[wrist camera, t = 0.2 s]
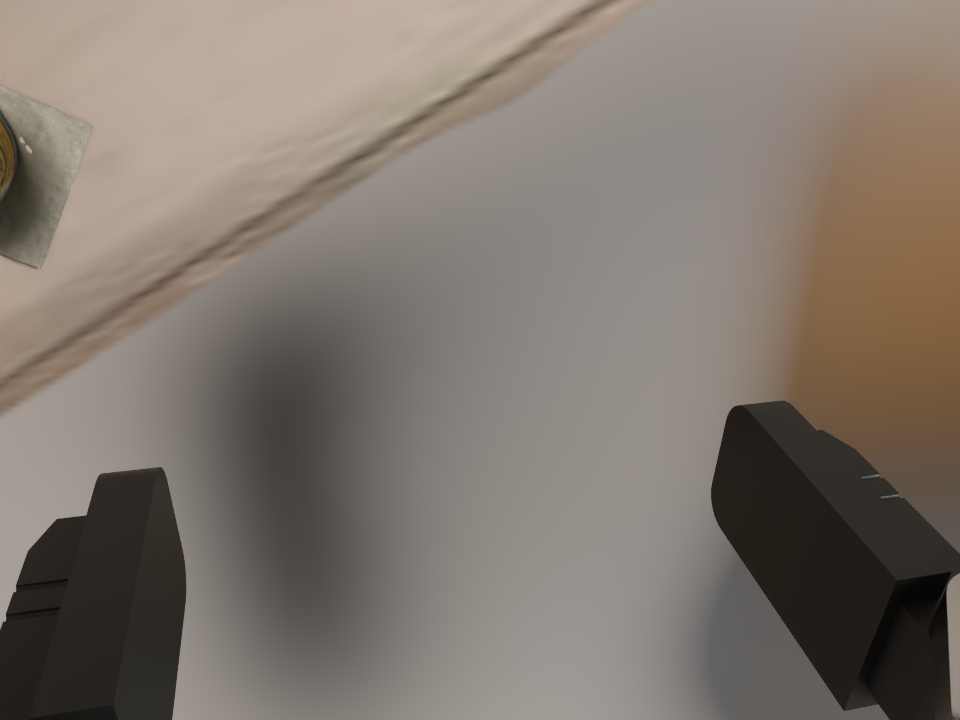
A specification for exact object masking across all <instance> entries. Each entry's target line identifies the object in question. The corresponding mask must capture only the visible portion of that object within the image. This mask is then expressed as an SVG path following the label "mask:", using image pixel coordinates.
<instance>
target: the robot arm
mask: <svg viewBox="0 0 960 720" xmlns="http://www.w3.org/2000/svg"><path fill="white" fill-rule="evenodd" d="M711 500H712V507H713V511H714V515H715V518H716V520H717V523H718V525H719V527H720V528H721V530H722V531H723V533H724V534H725V536H726V537H727V539H728V540H729V542H730V543H731V544H732V546H733V548H734V549H735V551H736V552H737V553H738V555H739V556H740V558H741V560H742V561H743V562H744V564H745V565H746V567H747V568H748V570H749V571H750V573H751V574H752V576H753V577H754V579H755V580H756V582H757V583H758V585H759V586H760V587H761V589H762V591H763V592H764V594H765V595H766V596H767V598H768V599H769V601H770V602H771V604H772V605H773V607H774V608H775V610H776V611H777V613H778V614H779V616H780V617H781V619H782V620H783V622H784V623H785V624H786V626H787V627H788V629H789V630H790V632H791V633H792V635H793V636H794V638H795V639H796V641H797V642H798V644H799V645H800V647H801V648H802V650H803V651H804V653H805V654H806V656H807V657H808V659H809V660H810V661H811V663H812V665H813V666H814V667H815V669H816V670H817V672H818V673H819V675H820V676H821V678H822V679H823V681H824V682H825V684H826V685H827V687H828V688H829V690H830V691H831V692H832V694H833V696H834V697H835V698H836V700H837V701H838V703H839V704H840V706H841V707H842V709H843V710H844V711H846V710H851V709H856V708H861V707H866V706H872V705H877V704H879V705H880V707H881V708H882V710H883V711H884V712H885V714H886V715H887V717H888V718H887V720H960V554H959V553H958V552H957V551H956V550H955V549H954V548H953V547H952V546H951V545H950V544H949V543H948V542H947V541H946V540H945V539H944V538H943V537H942V536H941V535H940V534H939V533H938V532H937V531H936V530H935V529H934V528H933V527H932V526H931V525H930V524H929V523H928V522H927V521H926V520H925V519H924V518H923V517H922V516H921V515H920V514H919V513H918V512H917V511H916V510H915V509H914V508H913V507H912V506H911V505H910V504H909V503H908V502H907V501H906V500H905V499H904V498H900V497H899V493H898V492H897V491H896V490H895V489H894V488H893V487H892V486H891V485H890V484H889V483H888V482H887V481H886V480H885V479H884V478H880V477H879V473H878V472H877V471H876V470H875V469H874V468H873V467H872V465H871V464H870V463H869V462H867V460H866V459H864V457H863V456H862V455H860V453H859V452H857V451H856V449H854V448H852V447H851V446H849V445H847V444H845V443H844V442H842V441H840V440H839V439H837V438H835V437H833V436H831V435H830V434H828V433H827V432H825V431H823V430H818V431H816V430H815V429H814V428H813V426H812V425H811V424H810V423H809V422H808V421H807V420H806V419H805V418H804V417H803V416H802V415H801V414H800V413H799V412H798V411H797V410H796V409H795V408H794V407H793V406H792V405H791V404H790V403H788V402H785V401H775V402H766V403H757V404H748V405H739V406H735V407H733V408H732V409H731V411H730V412H729V414H728V416H727V419H726V424H725V428H724V433H723V438H722V442H721V446H720V451H719V455H718V460H717V464H716V468H715V473H714V478H713V482H712V488H711ZM185 602H186V572H185V561H184V555H183V550H182V545H181V541H180V536H179V531H178V527H177V523H176V518H175V514H174V509H173V505H172V500H171V495H170V491H169V486H168V482H167V478H166V475H165V472H164V470H163V469H162V468H161V467H158V468H149V469H140V470H130V471H121V472H112V473H103V474H100V475H99V476H98V478H97V481H96V484H95V487H94V491H93V495H92V498H91V501H90V505H89V508H88V512H87V516H79V517H71V518H63V519H57V520H56V521H55V522H54V523H53V524H52V525H51V526H50V527H49V528H48V529H47V531H46V532H45V533H44V534H43V535H42V536H41V537H40V538H39V539H38V541H37V542H36V543H35V544H34V545H33V546H32V547H31V549H29V551H28V553H27V556H26V559H25V562H24V564H23V568H22V570H21V573H20V576H19V579H18V581H17V584H16V592H14V593H13V595H12V598H11V601H10V604H9V607H8V610H7V613H6V622H3V624H2V627H1V629H0V720H172V716H173V707H174V698H175V690H176V680H177V671H178V664H179V655H180V646H181V637H182V629H183V620H184V611H185Z"/></svg>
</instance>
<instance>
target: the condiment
mask: <svg viewBox="0 0 960 720" xmlns="http://www.w3.org/2000/svg"><path fill="white" fill-rule="evenodd" d="M92 128H93V125H90V124H88V123H86V122H84V121H81V120H79V119H76V118H74V117H71V116H69V115H67V114H65V113H63V112H61V111H59V110H56V109H54V108H51V107H49V106H46V105H44V104H41V103H39V102H37V101H35V100H33V99H30V98H28V97H26V96H24V95H21V94H19V93H17V92H14V91H12V90H10V89H8V88H6V87H4V86H1V85H0V253H1V254H3V255H5V256H8V257H10V258H12V259H15V260H17V261H20V262H23V263H26V264H29V265H32V266H35V267H37V268H40V269H41V268H42V265H43V263H44V260H45V257H46V254H47V252H48V249H49V247H50V244H51V241H52V238H53V236H54V233H55V230H56V227H57V224H58V222H59V220H60V217H61V214H62V211H63V208H64V205H65V203H66V200H67V197H68V194H69V192H70V189H71V186H72V184H73V181H74V178H75V175H76V172H77V169H78V167H79V164H80V161H81V159H82V156H83V153H84V150H85V147H86V144H87V142H88V139H89V136H90V133H91V131H92ZM20 136H21V137H23V139H24V141H25V144H22V143H21V142H20V140H19V138H20ZM25 145H28V146H29V147H30V148H31V149H32V150H33V151H32V154H30V153H29V152H28V151H27V150H26V148H25Z"/></svg>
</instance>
